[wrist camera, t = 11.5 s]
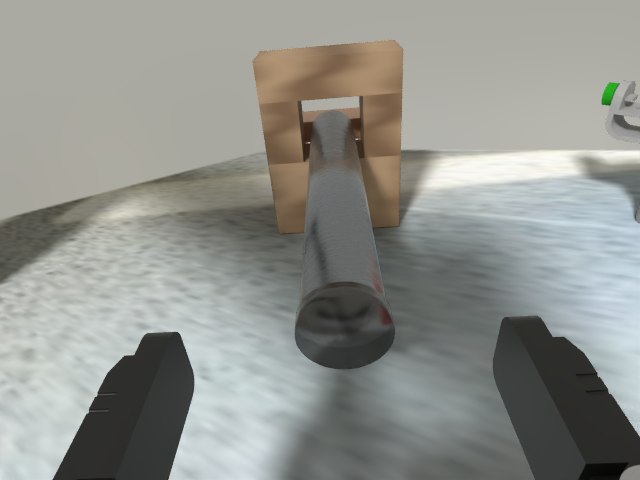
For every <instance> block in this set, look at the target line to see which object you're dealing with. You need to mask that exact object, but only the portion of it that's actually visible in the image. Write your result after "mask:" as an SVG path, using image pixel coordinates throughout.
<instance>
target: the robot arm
mask: <svg viewBox="0 0 640 480" xmlns="http://www.w3.org/2000/svg"><path fill="white" fill-rule="evenodd" d="M493 372H494V378H495V381H496V385H497V387H498V390H499V392H500V394H501V397H502V399H503V402H504V404H505V407H506V409H507V412H508V414H509V416H510V419H511V421H512V424H513V426H514V429H515V431H516V434H517V436H518V438H519V441H520V443H521V446H522V448H523V451H524V453H525V456H526V458H527V460H528V463H529V465H530V468H531V470H532V473H533V475H534V478H535V480H640V437H639V435H638V434H637V432H636V431H635V429H634V428H633V426H632V425H631V423H630V422H629V420H628V419H627V417H626V416H625V414H624V413H623V411H622V410H621V408H620V407H619V405H618V404H617V402H616V401H615V399H614V398H613V396H612V395H611V394H609V392H608V389H607V387H606V385H605V384H604V382H603V381H602V379H601V378H600V377H598V376H597V372H596V370H595V369H594V367H593V366H592V364H591V363H590V361H589V360H588V358H587V357H586V355H585V354H584V353H583V352H582V351H581V350H579V349H578V348H577V347H576V346H575V345H573V344H572V343H571V342H570V341H568V340H567V339H566V338H565V337H552V335H551V333H550V332H549V330H548V329H547V327H546V325H545V324H544V322H543V321H542V319H541V318H540V317H538V316H520V317H505V318H504V319H503V320H502V323H501V327H500V331H499V336H498V340H497V345H496V349H495V353H494V358H493ZM193 392H194V373H193V369H192V367H191V364H190V361H189V358H188V355H187V352H186V349H185V347H184V344H183V341H182V338H181V336H180V334H179V333H178V332H163V333H147V334H145V335H144V337H143V338H142V340H141V342H140V344H139V346H138V349H137V351H136V353H135V355H130V356H124V357H123V358H122V359H121V360H120V361H119V362H118V363H117V364H116V365H115V366H114V367H113V368H112V369H111V370H110V371H109V372H108V373H107V375H106V377H105V379H104V381H103V383H102V385H101V387H100V389H99V391H98V393H97V394H98V395H97V397H95V398H94V400H93V402H92V404H91V406H90V408H89V413H88V414H86V416H85V418H84V420H83V422H82V424H81V426H80V428H79V430H78V432H77V434H76V435H75V437H74V439H73V441H72V443H71V445H70V447H69V449H68V451H67V453H66V455H65V457H64V459H63V461H62V463H61V465H60V467H59V469H58V471H57V472H56V474H55V476H54V478H53V480H168V479H169V475H170V472H171V468H172V465H173V462H174V458H175V455H176V451H177V448H178V445H179V441H180V438H181V434H182V431H183V428H184V424H185V421H186V417H187V414H188V410H189V407H190V404H191V400H192V397H193Z"/></svg>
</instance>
